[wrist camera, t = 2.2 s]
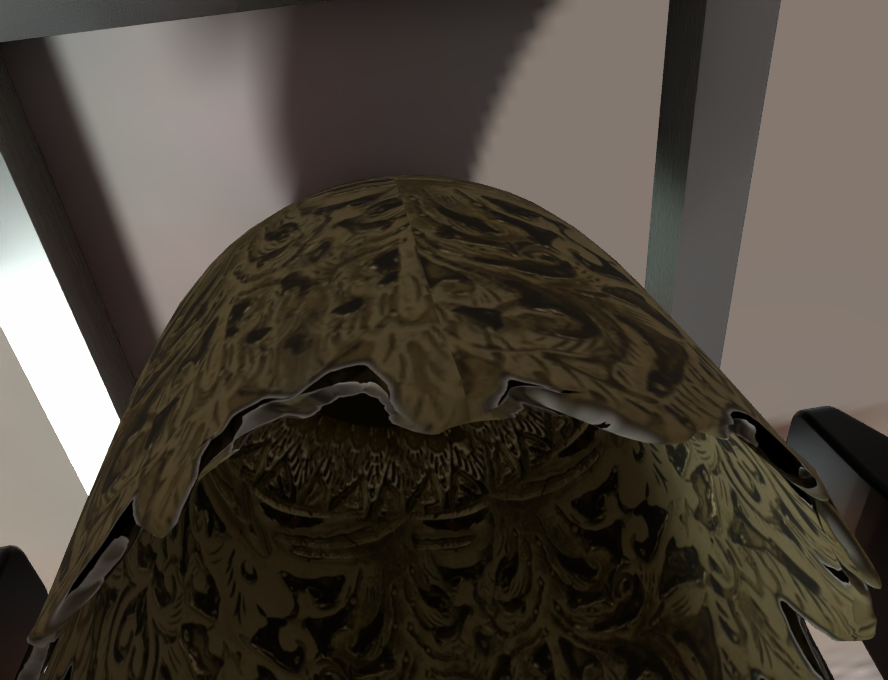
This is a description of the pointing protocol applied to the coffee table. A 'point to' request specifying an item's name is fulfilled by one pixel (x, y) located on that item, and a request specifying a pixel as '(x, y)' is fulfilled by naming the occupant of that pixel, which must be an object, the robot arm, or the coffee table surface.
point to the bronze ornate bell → (442, 472)
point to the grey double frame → (133, 3)
